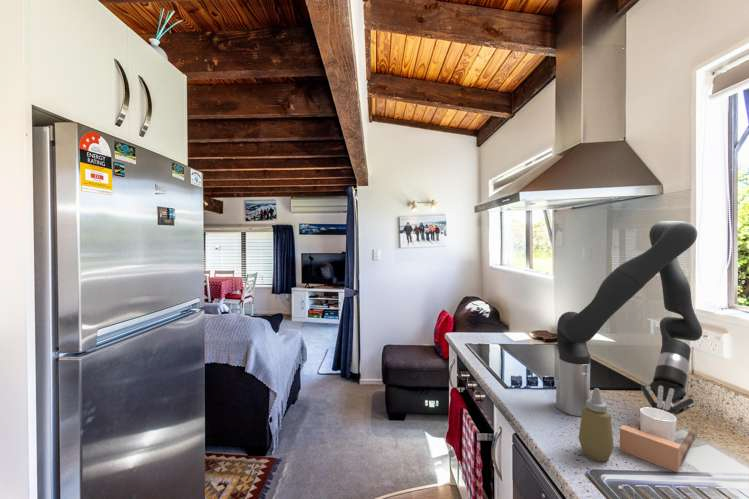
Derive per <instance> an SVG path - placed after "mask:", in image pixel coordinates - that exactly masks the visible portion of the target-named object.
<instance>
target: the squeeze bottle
mask: <svg viewBox="0 0 749 499" xmlns="http://www.w3.org/2000/svg"><path fill="white" fill-rule="evenodd" d="M612 424H613V423H612V415H611V413H610V412H608V404H607V403H606V401H605V402H604V401H603V399H602V395H601V391H600V388H596V387H595V388H594V389H593V392H592V395H591V398H590V399H588V400H587V406H586V407H584V408H583V409H582V416H580V426H579V432H578V441H579V444H580V447H581V450H582V453H583V454H584V456H585V457H587V458H589V459H591V460H594V461H596V462H597V461H598V462H607V461H608V460H609V459H610V457H611V455H612V453H613V451H614V450H615V445H614V435H613V425H612Z"/></svg>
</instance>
